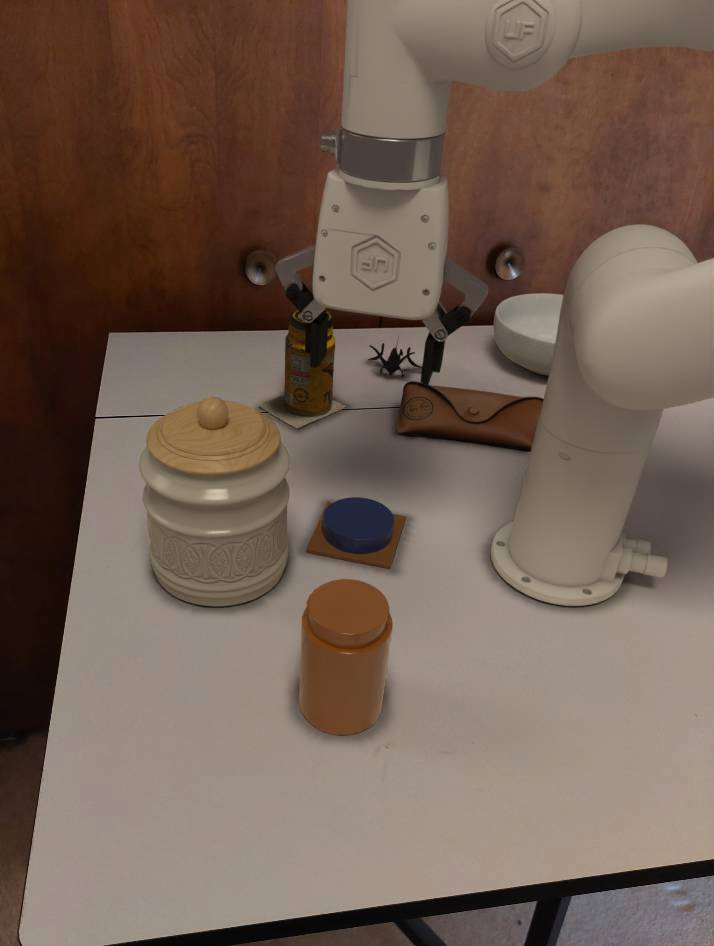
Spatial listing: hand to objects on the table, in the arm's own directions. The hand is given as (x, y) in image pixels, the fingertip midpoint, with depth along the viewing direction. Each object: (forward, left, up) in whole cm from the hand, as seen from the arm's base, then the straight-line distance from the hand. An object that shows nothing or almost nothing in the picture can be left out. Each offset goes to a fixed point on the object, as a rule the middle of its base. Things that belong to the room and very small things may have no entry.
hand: (371, 369), depth 69 cm
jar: (+12, +8, -18) cm, 23 cm away
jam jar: (-4, +22, -18) cm, 28 cm away
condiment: (+12, -23, -18) cm, 32 cm away
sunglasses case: (-8, -25, -18) cm, 32 cm away
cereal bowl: (-17, -46, -18) cm, 52 cm away
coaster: (0, 0, -18) cm, 18 cm away
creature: (+3, -37, -18) cm, 42 cm away
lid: (0, 0, -16) cm, 17 cm away
